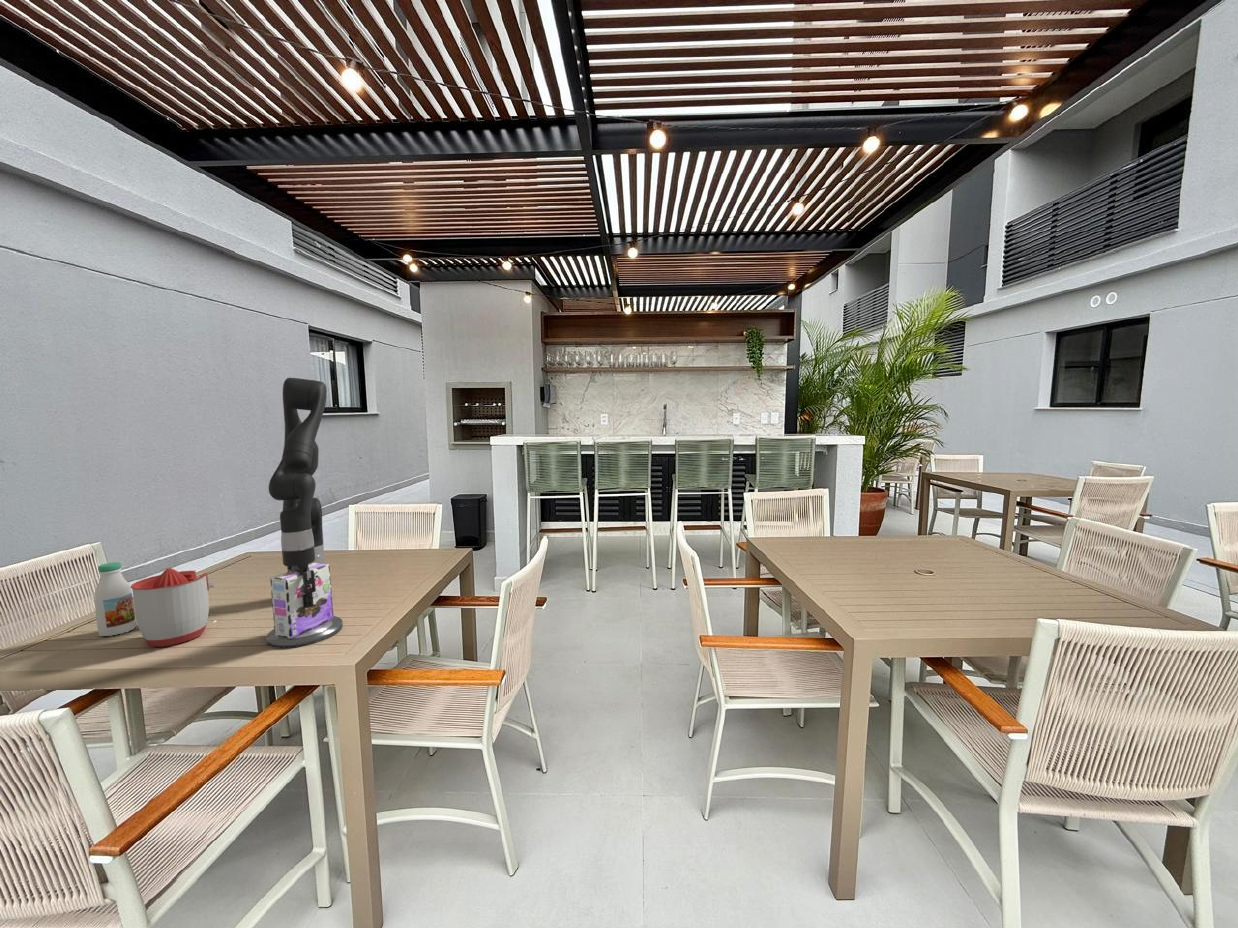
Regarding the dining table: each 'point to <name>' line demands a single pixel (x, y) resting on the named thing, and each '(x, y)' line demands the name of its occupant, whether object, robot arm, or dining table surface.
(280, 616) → the candy box
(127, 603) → the milk bottle
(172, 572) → the citrus juicer
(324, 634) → the metal plate
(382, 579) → the dining table surface
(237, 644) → the dining table surface
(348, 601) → the dining table surface
